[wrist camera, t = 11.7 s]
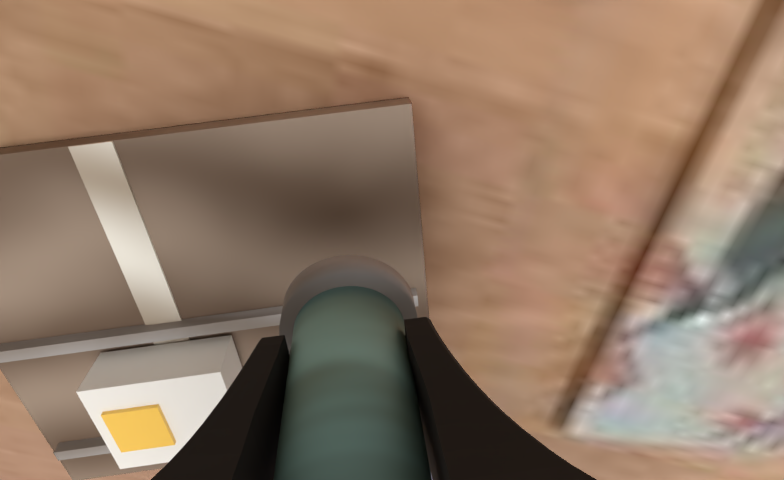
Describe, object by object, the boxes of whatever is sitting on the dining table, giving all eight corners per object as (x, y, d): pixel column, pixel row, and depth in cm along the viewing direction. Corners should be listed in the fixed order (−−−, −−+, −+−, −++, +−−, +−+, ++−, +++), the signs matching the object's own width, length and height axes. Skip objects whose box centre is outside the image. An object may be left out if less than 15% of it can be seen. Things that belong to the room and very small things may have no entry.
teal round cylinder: (418, 352, 16) (464, 584, 10) (295, 368, 16) (268, 613, 10) (409, 246, 14) (459, 455, 8) (270, 263, 14) (216, 489, 8)
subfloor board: (435, 414, 28) (439, 438, 27) (81, 464, 28) (68, 491, 27) (408, 97, 20) (413, 107, 18) (-108, 161, 19) (-144, 176, 18)
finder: (256, 410, 25) (248, 454, 23) (138, 427, 25) (118, 472, 23) (231, 335, 23) (219, 375, 21) (100, 352, 23) (73, 395, 21)
